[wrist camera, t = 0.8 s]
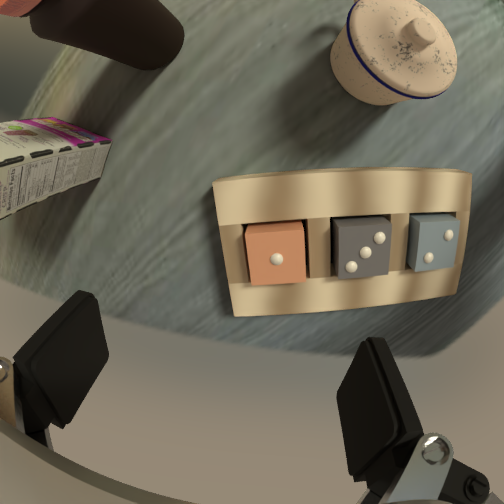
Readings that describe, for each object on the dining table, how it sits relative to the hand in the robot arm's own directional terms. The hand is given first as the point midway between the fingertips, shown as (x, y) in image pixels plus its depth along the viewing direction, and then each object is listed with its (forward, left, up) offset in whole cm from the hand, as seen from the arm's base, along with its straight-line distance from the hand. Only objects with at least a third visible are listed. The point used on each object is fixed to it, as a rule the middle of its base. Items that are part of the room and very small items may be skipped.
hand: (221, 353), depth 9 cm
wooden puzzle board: (-9, +4, -20) cm, 23 cm away
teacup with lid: (-12, -15, -20) cm, 28 cm away
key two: (-17, +4, -19) cm, 26 cm away
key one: (-1, +4, -19) cm, 19 cm away
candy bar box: (+21, -10, -20) cm, 31 cm away
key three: (-9, +4, -19) cm, 21 cm away
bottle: (+9, -19, -20) cm, 29 cm away
